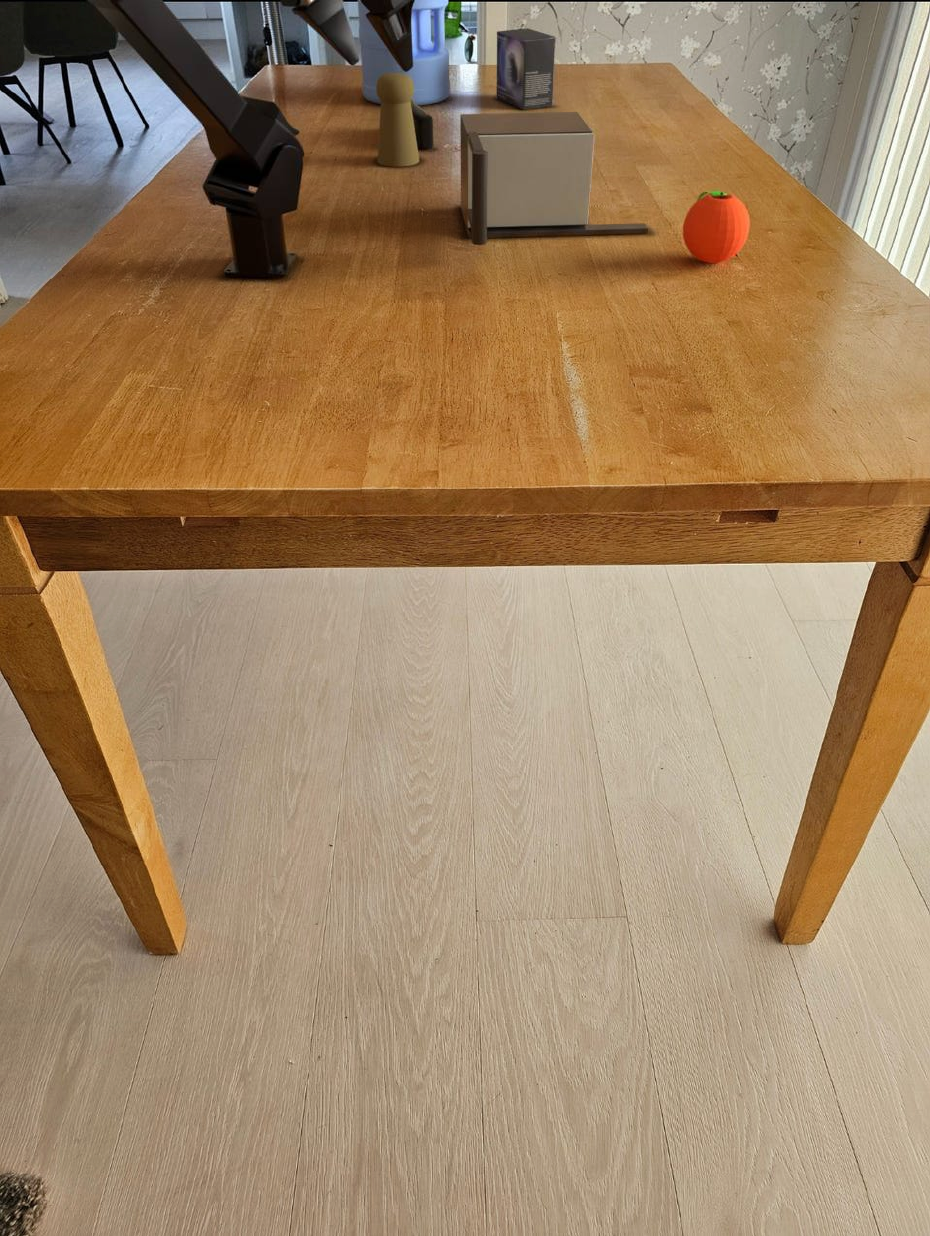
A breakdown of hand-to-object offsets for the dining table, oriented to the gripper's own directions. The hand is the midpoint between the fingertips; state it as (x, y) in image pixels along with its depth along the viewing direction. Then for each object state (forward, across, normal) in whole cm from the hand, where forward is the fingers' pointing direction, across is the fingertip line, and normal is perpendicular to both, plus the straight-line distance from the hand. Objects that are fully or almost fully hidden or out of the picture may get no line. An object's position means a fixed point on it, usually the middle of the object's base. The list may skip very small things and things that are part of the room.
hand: (381, 66), depth 100 cm
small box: (+38, +40, -51) cm, 75 cm away
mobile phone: (+26, +33, -22) cm, 48 cm away
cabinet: (+23, -9, -9) cm, 26 cm away
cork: (+23, +25, -13) cm, 36 cm away
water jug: (+32, +57, -40) cm, 77 cm away
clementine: (+25, -30, -11) cm, 41 cm away
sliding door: (+19, -15, -1) cm, 24 cm away
